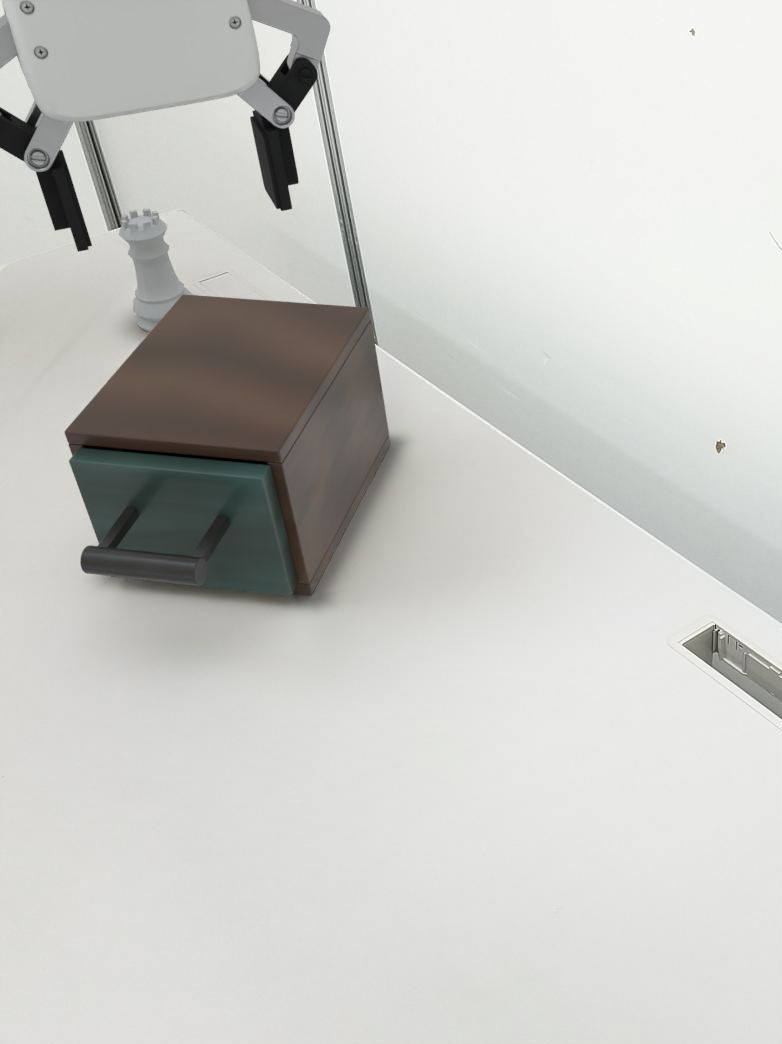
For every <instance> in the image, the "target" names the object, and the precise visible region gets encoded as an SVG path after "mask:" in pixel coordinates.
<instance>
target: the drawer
mask: <svg viewBox="0 0 782 1044" xmlns="http://www.w3.org/2000/svg"><path fill="white" fill-rule="evenodd" d="M68 463H69V466H70V468H71V471H72V475H73V477H74V480H75V482H76V485H77V487H78V491H79V493H80V496H81V499H82V501H83V505H84V507H85V509H86V512H87V515H88V517H89V521H90V523H91V526H92V529H93V531H94V535H95V537H96V540H97V542H98V544H97V545H86V546H85V547H84V548H83V550H82V552H81V555H80V560H79V561H80V564H79V565H80V567H81V570H82V572H83V573H85V574H87V575H98V576H107V577H111V578H119V579H127V580H128V579H129V580H137V581H145V582H156V583H165V584H174V585H184V586H193V587H201V588H202V587H204V588H212V589H213V588H214V589H221V590H222V589H223V590H230V591H241V592H248V593H249V592H250V593H257V594H258V593H260V594H268V595H269V594H270V595H277V596H279V595H280V596H287V597H291V596H292V594H293V593H292V592H293V591H294V589H295V587H296V585H297V583H298V580H297V575H296V571H295V567H294V563H293V558H292V554H291V550H290V546H289V541H288V537H287V533H286V529H285V524H284V520H283V516H282V512H281V507H280V503H279V499H278V495H277V490H276V486H275V482H274V478H273V473H272V469H271V466H270V465H268V462H263V461H252V460H241V459H230V458H219V457H208V456H197V455H186V454H175V453H164V452H153V451H142V450H132V449H121V448H110V447H109V450H99V449H88V448H79V449H78V450H77V451H76V453H75V454H74V455H73V456H72V455H71V457H70V459H68Z"/></svg>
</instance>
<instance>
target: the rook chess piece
mask: <svg viewBox="0 0 782 1044" xmlns="http://www.w3.org/2000/svg"><path fill="white" fill-rule="evenodd" d="M128 213H129V216H128V214H127V213H126V214H124V213H123V214H122V215H121V216H120V219H121V220H120V222H121V223H120V224H121V226H120V228H119V230H118V236H119V237H121V239H123V240H124V241H125V242H126V243H127V244H128V246H129V248H128V250H127V255H128V256H129V257H130V258H131V259H132V262H133V266H134V270H135V278H136V289H135V290H134V296H135V297H134V298H133V300H132V312H134V314H135V317H134V322H135V323H136V325H138V327H139V328H141V329H142V330H144V332H148V333H150V332H151V331H152V329H153V328H154V327H155V326H156V325H157V324H158V322H159V321H160V320H161V319H162V318H163V317H164V316H165V314H166V313H167V312H168V311H169V310H170V309H171V307H172V306H173V305H174V304H175V303H176V302H177V300H178V299H179V298H180V297H181V296H182V295H184V294H185V295H193V294H192V292H191V291H190V290H189V289H188V288H186V287H185V284H184V283H183V282H182V281H181V280H180V279H179V277H178V276H177V274H176V273H177V272H176V271H175V269H174V266H173V264H172V262H171V260H170V255H169V250H170V245H169V244H168V243H167V242H166V241H165V240H164V239H165V238H164V236H165V235H166V232H167V230H168V224H167V223H166V222H165V221H164V220H162V219H161V218H160V215H159V212H158V211H157V210H152V211H151V208H142V214H140V215H139V214H138V211H137V209H132V210H129V211H128ZM129 217H130V218H129Z"/></svg>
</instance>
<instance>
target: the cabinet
mask: <svg viewBox="0 0 782 1044" xmlns="http://www.w3.org/2000/svg"><path fill="white" fill-rule="evenodd" d="M371 319H372V317H371V311H370V308H369V307H364V306H351V305H350V306H349V305H338V304H337V305H335V304H321V303H311V302H309V303H308V302H296V301H295V302H294V301H281V300H268V299H267V300H266V299H252V298H241V297H240V298H239V297H223V296H213V295H211V296H210V295H199V294H198V295H197V294H192V295H185V294H184V295H182V296H181V297H180V298H179V299H178V300H177V302H176V303H175V304H174V305H173V306H172V307H171V309H170V310H169V311H168V312H167V313H166V314H165V316H164V317H163V318H162V319H161V320H160V321H159V322H158V324H157V325H156V326H155V327H154V328H153V329H152V331H151V332H148V334H147V335H146V336H145V338H144V339H143V340H142V341H140V343H139V344H138V345H137V346H136V347H135V349H134V350H133V351H132V352H131V353H130V355H128V357H127V358H126V360H124V361H123V363H122V364H121V365H120V366H119V367H118V368H117V369H116V371H115V372H114V373H113V374H112V376H111V377H110V378H109V379H108V380H107V381H106V383H104V385H103V386H102V387H101V388H100V390H99V391H98V392H96V394H95V395H94V397H92V399H91V400H90V401H89V402H88V403H87V404H86V406H84V408H83V409H82V410H81V411H80V413H78V415H77V416H76V417H75V419H74V420H73V421H72V422H71V423H70V424H69V425H68V426H67V428H65V430H64V436H65V439H66V441H67V443H68V448H69V450H70V453H71V457H72V456H73V455H74V454H75V453H76V451H77V450H78V449H79V448H88V449H99V450H109V447H110V448H121V449H132V450H142V451H153V452H164V453H175V454H186V455H197V456H208V457H219V458H230V459H241V460H252V461H263V462H268V465H270V466H271V469H272V473H273V478H274V482H275V486H276V490H277V495H278V499H279V503H280V507H281V512H282V516H283V520H284V524H285V529H286V533H287V537H288V541H289V546H290V550H291V554H292V558H293V563H294V567H295V571H296V575H297V580H298V583H297V585H296V587H295V589H294V591H293V592H292V594H299V595H310V596H311V595H313V593H314V591H315V589H316V587H317V585H318V583H319V582H320V580H321V578H322V576H323V574H324V572H325V570H326V569H327V567H328V564H329V563H330V561H331V558H332V557H333V555H334V553H335V551H336V549H337V548H338V545H339V544H340V542H341V540H342V538H343V535H344V534H345V532H346V530H347V529H348V526H349V524H350V522H351V520H352V519H353V516H354V515H355V513H356V511H357V509H358V507H359V505H360V503H361V501H362V499H363V498H364V496H365V493H366V492H367V490H368V488H369V486H370V484H371V482H372V480H373V479H374V476H375V474H376V472H377V470H378V469H379V467H380V465H381V463H382V461H383V459H384V457H385V456H386V453H387V451H388V450H389V448H390V446H391V439H390V431H389V424H388V419H387V412H386V411H387V410H386V406H385V399H384V393H383V386H382V380H381V374H380V367H379V362H378V353H377V348H376V342H375V341H376V340H375V336H374V329H373V323H372V320H371Z"/></svg>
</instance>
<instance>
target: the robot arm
mask: <svg viewBox="0 0 782 1044" xmlns="http://www.w3.org/2000/svg"><path fill="white" fill-rule="evenodd" d="M0 1H1V4H2V9H3V12H4V14H3V15H2V16H1V17H0V69H3V67H4V66H6V65H7V64H8V63H9V62H10V61H12V60H13V59H14V58H16V57H17V61H18V63H19V65H20V66H19V67H20V69H21V71H22V74H23V76H24V78H25V81H26V83H27V84H26V85H27V87H28V89H29V91H30V93H31V95H32V98H33V102H32V105H31V106H30V108H29V111H28V113H27V115H26V117H25V119H24V120H23V119H21V118H19V117H18V116H16V115H14V114H13V113H11V112H9V111H8V110H6V109H4V108H3V107H1V106H0V149H1V150H3V151H5V152H7V153H8V154H10V155H11V156H14V157H15V158H17V159H19V160H20V161H22V162H23V163H25V166H27V167H28V168H29V169H30V170H31V171H33V172H35V174H36V177H37V180H38V183H39V186H40V190H41V192H42V195H43V199H44V202H45V206H46V208H47V210H48V214H49V217H50V221H51V223H52V226H53V229H54V231H55V232H56V231H60V230H61V231H62V230H66V229H70V231H71V235H72V238H73V242H74V244H75V248H76V251H77V252H78V253H79V252H83V251H88V250H89V247H93V244H92V240H91V237H90V234H89V231H88V228H87V224H86V221H85V218H84V215H83V211H82V207H81V205H80V202H79V198H78V195H77V192H76V188H75V185H74V182H73V179H72V176H71V172H70V170H69V165H68V163H67V160H66V157H65V153H64V151H63V149H61V148H62V146H63V144H64V142H65V141H66V138H67V136H68V135H69V133H70V130H71V129H72V127H73V125H74V123H82V122H89V121H98V120H104V119H111V118H116V117H122V116H130V115H135V114H140V113H141V114H142V113H146V112H147V113H148V112H153V111H159V110H165V109H170V108H176V107H181V106H187V105H193V104H198V103H204V102H210V101H216V100H220V99H225V98H229V97H232V96H238V97H239V98H240V99H241V100H242V101H244V102H245V103H246V104H247V105H248V106H250V107H251V108H252V109H253V110H252V116H250V117H249V119H250V124H251V130H252V135H253V139H254V144H255V149H256V154H257V159H258V164H259V169H260V174H261V179H262V183H263V188H264V190H265V192H266V194H267V195H268V197H269V199H270V201H271V202H272V203H273V206H274V207H275V209H276V210H280V211H281V212H284V211H290V210H292V209H293V205H292V199H291V192H290V188H289V186H293V185H298V184H299V182H300V181H299V175H298V168H297V164H296V163H297V162H296V158H295V152H294V147H293V142H292V141H293V140H292V137H291V132H290V131H291V130H290V127H291V126H292V125H293V123H294V122H295V119H296V113H295V112H297V110H298V108H299V107H300V106H301V104H302V102H304V100H305V98H306V96H307V95H308V94H309V92H310V90H311V89H312V88H313V87H314V85H315V84H316V81H317V79H318V75H319V74H318V68H319V65H320V63H321V62H322V59H323V55H324V52H325V49H326V45H327V42H328V39H329V35H330V32H331V24H330V21H329V20H328V19H327V17H326V16H324V14H323V13H322V12H321V11H320V10H318V9H317V8H314V7H311V6H308V5H306V4H303V3H300V2H299V1H296V0H0ZM253 21H255V22H257V23H260V24H263V25H266V26H268V27H271V28H275V29H276V30H280V31H282V32H284V33H285V32H286V33H288V34H291V42H290V48H289V52H288V54H287V55H286V56H285V57H284V59H283V60H282V62H281V63H280V65H279V66H278V68H277V69H276V71H275V73H274V74H273V76H272V77H271V79H270V80H269V79H268V78H267V77H265V75H263V74H262V73H261V60H260V51H259V46H258V41H257V36H256V31H255V27H254V23H253Z"/></svg>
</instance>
